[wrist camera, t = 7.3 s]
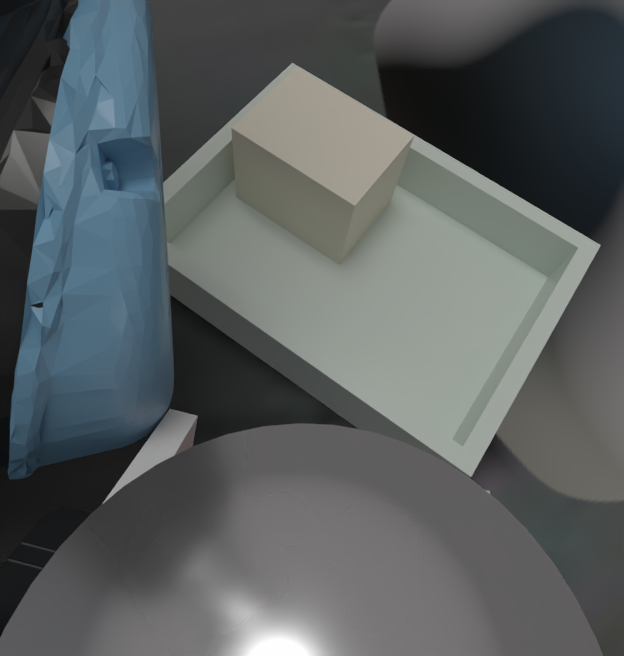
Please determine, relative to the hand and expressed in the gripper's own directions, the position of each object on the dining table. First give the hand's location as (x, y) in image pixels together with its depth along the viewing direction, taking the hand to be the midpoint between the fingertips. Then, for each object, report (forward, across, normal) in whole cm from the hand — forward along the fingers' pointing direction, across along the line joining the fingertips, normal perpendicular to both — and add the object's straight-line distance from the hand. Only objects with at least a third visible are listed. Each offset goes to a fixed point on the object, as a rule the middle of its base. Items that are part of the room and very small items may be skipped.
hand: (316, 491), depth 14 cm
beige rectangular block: (+23, -3, +4) cm, 24 cm away
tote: (+21, 0, 0) cm, 21 cm away
